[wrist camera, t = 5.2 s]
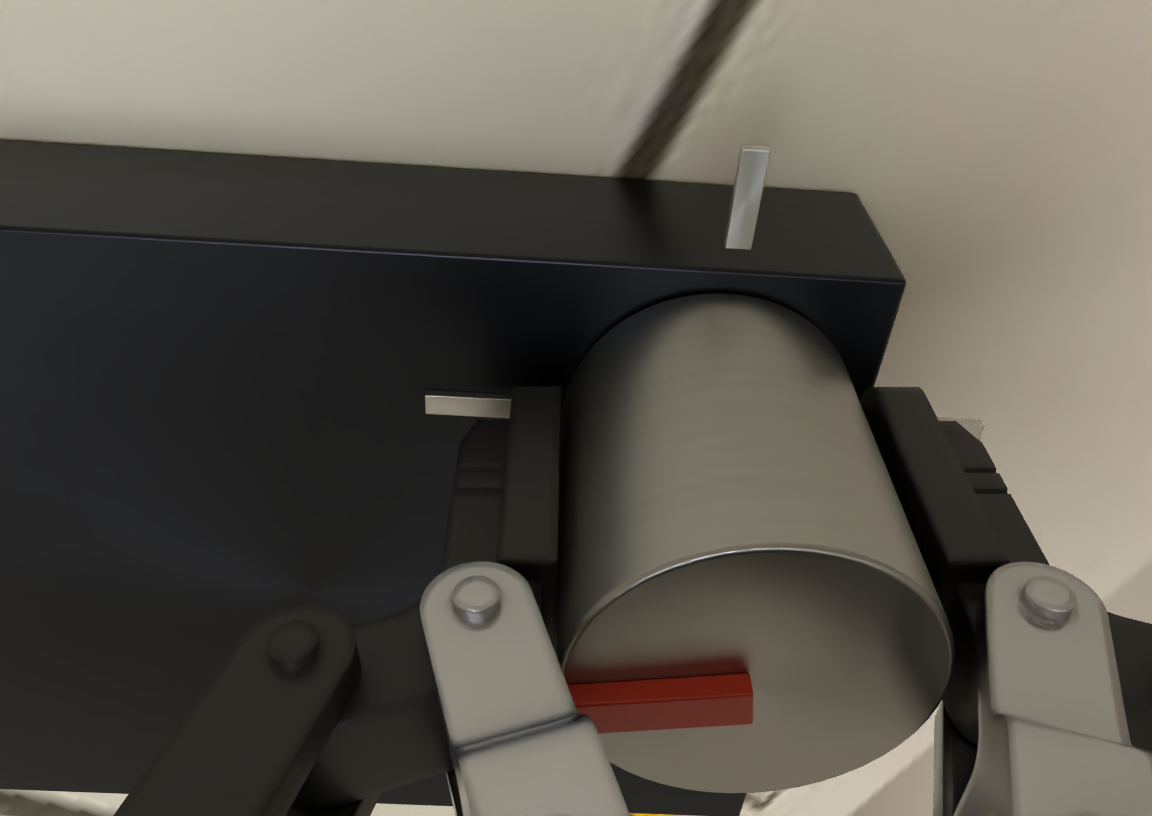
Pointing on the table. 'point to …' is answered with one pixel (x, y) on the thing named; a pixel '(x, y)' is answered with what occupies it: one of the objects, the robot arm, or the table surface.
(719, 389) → the dial
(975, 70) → the table surface
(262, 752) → the robot arm
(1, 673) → the stove panel
